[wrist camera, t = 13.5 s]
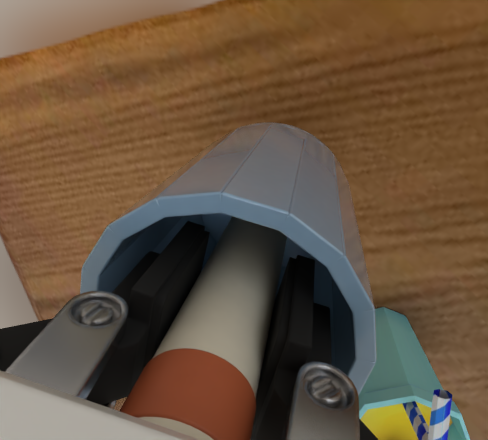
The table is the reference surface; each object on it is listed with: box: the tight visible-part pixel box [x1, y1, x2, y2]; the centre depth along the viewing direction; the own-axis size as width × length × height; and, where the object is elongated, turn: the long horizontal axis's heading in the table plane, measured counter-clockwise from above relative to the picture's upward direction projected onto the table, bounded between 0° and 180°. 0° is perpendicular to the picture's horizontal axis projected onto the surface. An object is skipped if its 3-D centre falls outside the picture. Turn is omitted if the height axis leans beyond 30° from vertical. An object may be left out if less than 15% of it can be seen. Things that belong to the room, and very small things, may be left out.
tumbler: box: [80, 122, 377, 396], centre depth 14 cm, size 8×8×10 cm
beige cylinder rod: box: [120, 217, 287, 440], centre depth 12 cm, size 2×2×14 cm
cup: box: [358, 307, 470, 440], centre depth 26 cm, size 14×8×15 cm, turn 3°
